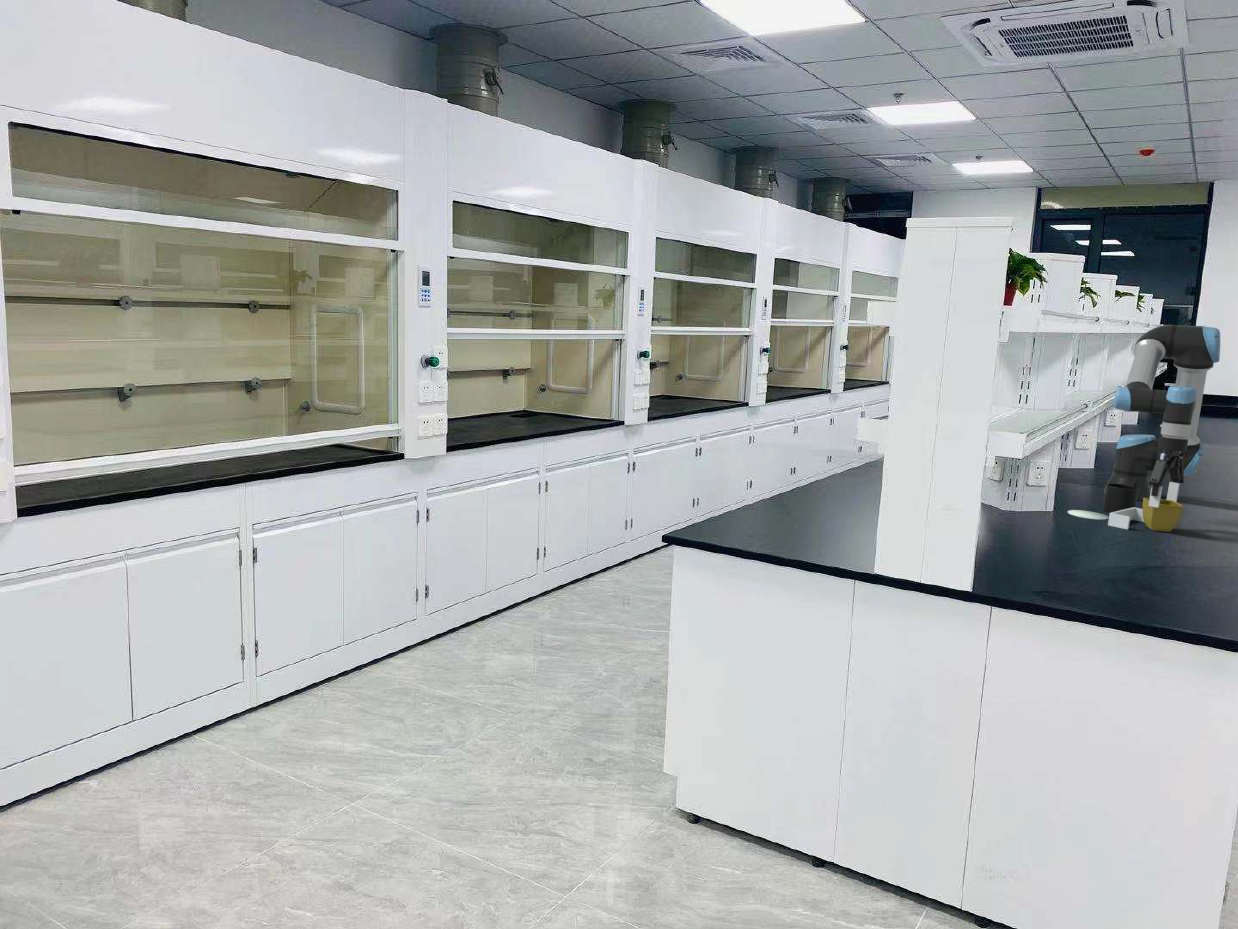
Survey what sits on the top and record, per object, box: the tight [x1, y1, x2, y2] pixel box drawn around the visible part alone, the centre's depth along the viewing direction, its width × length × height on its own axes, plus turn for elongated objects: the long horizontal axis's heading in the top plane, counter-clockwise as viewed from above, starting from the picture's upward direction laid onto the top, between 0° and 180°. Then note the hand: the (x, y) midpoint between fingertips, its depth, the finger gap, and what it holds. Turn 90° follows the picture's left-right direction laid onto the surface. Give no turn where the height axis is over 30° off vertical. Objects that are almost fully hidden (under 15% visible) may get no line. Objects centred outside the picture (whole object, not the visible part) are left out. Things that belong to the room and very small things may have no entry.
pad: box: [1067, 509, 1109, 521], centre depth 293 cm, size 12×12×1 cm
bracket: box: [1107, 507, 1145, 530], centre depth 283 cm, size 18×6×4 cm, turn 129°
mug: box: [1102, 484, 1139, 514], centre depth 300 cm, size 9×12×9 cm
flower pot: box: [1142, 498, 1184, 533], centre depth 277 cm, size 9×9×9 cm
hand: (1162, 504), depth 276 cm, fingers open, 13 cm apart
